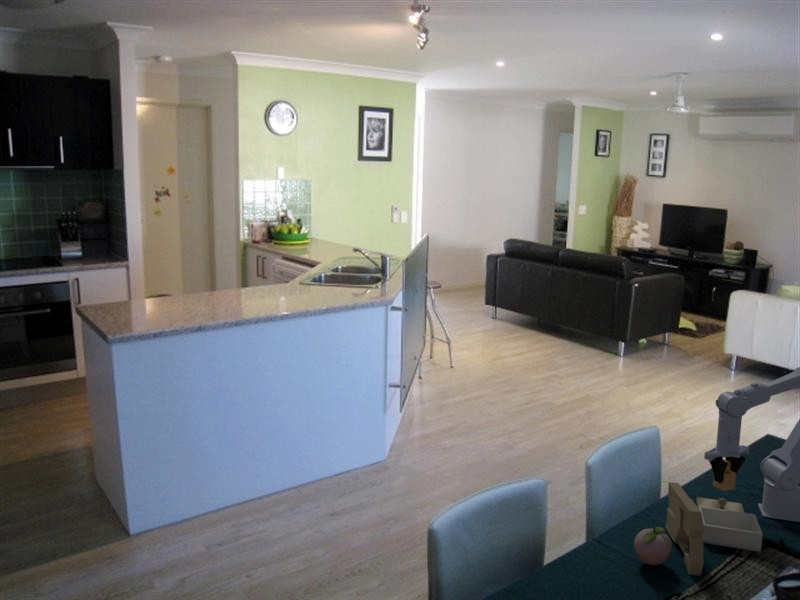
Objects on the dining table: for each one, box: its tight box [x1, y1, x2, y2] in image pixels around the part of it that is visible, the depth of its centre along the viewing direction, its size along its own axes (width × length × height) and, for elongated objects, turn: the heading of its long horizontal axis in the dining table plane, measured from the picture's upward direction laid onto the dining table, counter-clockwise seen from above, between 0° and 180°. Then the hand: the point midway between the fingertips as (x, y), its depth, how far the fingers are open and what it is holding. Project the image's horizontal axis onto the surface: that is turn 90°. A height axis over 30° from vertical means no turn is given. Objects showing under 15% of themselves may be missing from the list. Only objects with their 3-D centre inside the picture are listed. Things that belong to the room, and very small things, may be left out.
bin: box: [698, 506, 764, 553], centre depth 175 cm, size 14×11×5 cm
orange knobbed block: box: [712, 459, 737, 492], centre depth 186 cm, size 4×4×8 cm
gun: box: [664, 481, 704, 576], centre depth 168 cm, size 24×3×15 cm, turn 171°
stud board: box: [695, 496, 746, 513], centre depth 188 cm, size 12×12×5 cm
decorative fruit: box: [633, 526, 673, 567], centre depth 162 cm, size 9×8×10 cm
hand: (724, 480), depth 186 cm, fingers closed on orange knobbed block, 4 cm apart
